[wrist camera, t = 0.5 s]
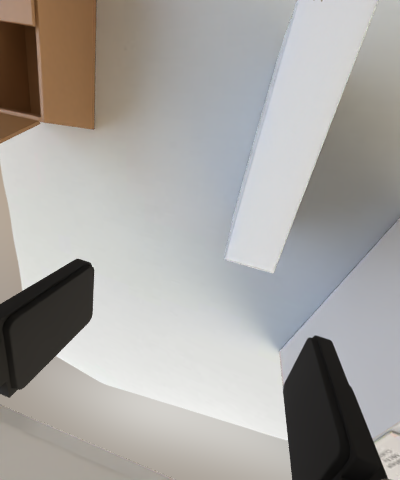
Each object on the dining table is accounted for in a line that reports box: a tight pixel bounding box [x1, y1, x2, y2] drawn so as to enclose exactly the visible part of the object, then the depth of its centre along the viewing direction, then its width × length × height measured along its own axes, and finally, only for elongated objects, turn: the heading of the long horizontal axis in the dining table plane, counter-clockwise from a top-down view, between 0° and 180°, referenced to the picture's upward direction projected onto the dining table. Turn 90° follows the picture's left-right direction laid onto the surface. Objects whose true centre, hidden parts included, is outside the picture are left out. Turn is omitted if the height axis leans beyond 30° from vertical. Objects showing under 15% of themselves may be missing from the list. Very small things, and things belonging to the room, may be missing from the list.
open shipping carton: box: [0, 0, 96, 129], centre depth 30 cm, size 18×12×10 cm, turn 169°
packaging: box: [279, 218, 400, 480], centre depth 28 cm, size 30×6×20 cm, turn 154°
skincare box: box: [224, 0, 379, 273], centre depth 25 cm, size 21×5×16 cm, turn 168°
